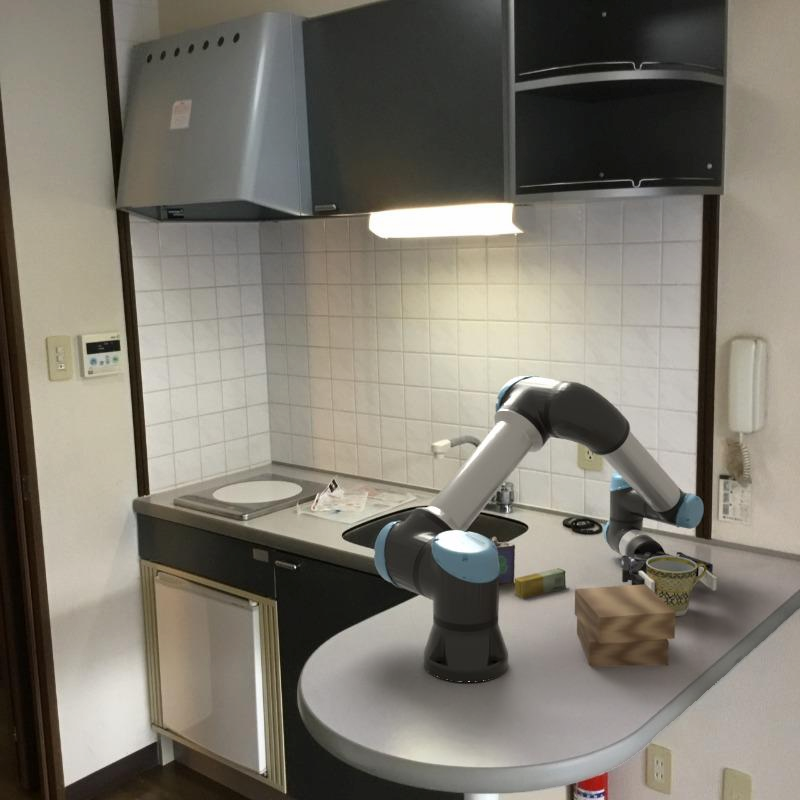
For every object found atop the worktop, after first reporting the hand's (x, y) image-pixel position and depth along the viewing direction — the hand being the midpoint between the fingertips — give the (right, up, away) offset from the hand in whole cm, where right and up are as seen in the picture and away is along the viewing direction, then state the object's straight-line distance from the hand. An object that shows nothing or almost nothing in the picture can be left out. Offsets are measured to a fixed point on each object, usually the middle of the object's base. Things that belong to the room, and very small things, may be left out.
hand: (684, 586), depth 195 cm
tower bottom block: (-16, -9, -14) cm, 23 cm away
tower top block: (-16, -4, -15) cm, 22 cm away
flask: (-36, -4, +19) cm, 41 cm away
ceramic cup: (-1, -6, +4) cm, 7 cm away
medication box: (-27, -4, +15) cm, 31 cm away
